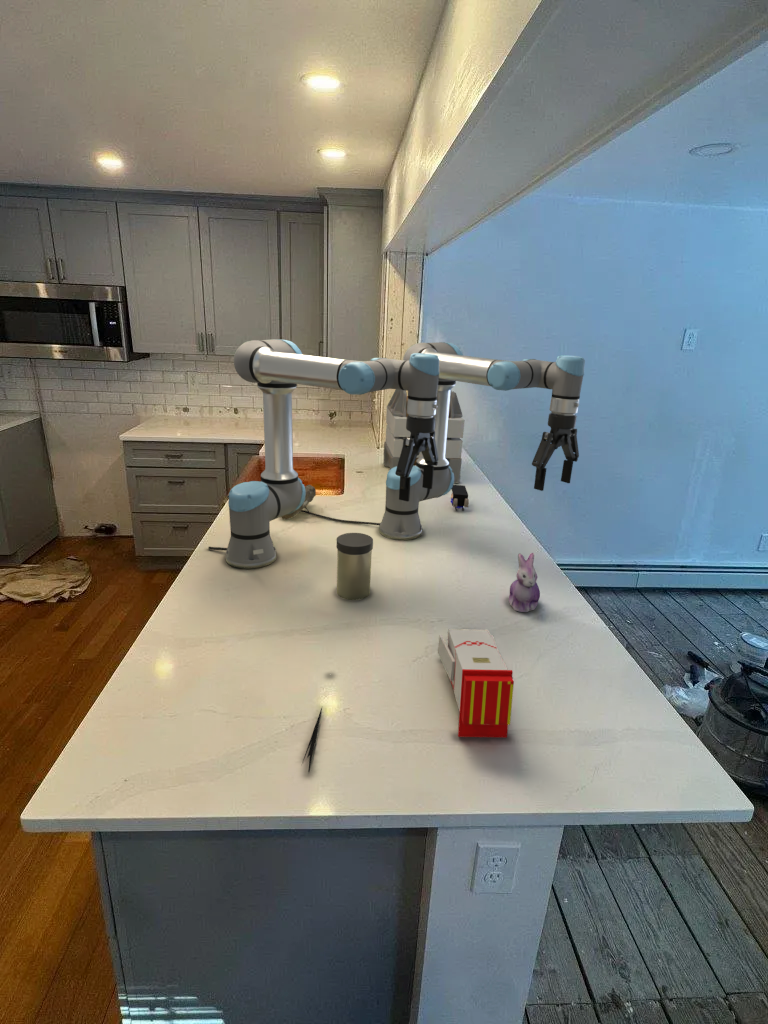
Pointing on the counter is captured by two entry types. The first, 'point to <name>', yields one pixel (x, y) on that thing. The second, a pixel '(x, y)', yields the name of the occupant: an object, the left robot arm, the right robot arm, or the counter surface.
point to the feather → (313, 740)
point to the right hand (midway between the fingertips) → (552, 485)
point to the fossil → (308, 498)
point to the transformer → (398, 431)
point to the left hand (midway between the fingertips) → (416, 493)
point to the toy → (478, 682)
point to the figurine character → (459, 497)
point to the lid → (354, 543)
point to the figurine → (525, 586)
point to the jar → (353, 575)
